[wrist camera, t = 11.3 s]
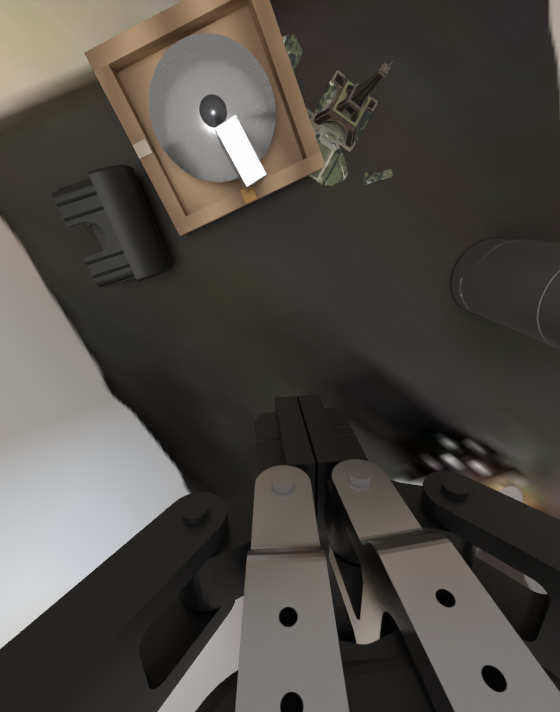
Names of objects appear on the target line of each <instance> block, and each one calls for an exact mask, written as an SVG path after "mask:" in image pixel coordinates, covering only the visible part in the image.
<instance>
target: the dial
mask: <svg viewBox="0 0 560 712" xmlns="http://www.w3.org/2000/svg"><path fill="white" fill-rule="evenodd" d="M149 111H150V117H151V122H152V125H153V129H154V132H155V134H156V136H157V139H158V141H159V143H160V144H161V146H162V148H163V149H164V151H165V152H166V154H167V155H168V156H169V157H170V158H171V160H172V161H173V162H174V163H175V164H177V165H178V166H179V167H180V168H181V169H183V170H184V171H185V172H187V173H188V174H190V175H191V176H193V177H195V178H197V179H200V180H202V181H205V182H210V183H229V182H233V181H236V180H240V182H241V184H242V185H243V187H244V189H245V191H246V192H248V191H249V190H251V189H253V188H254V187H256V186H257V185H259V184H260V183H262V182H263V180H264V178H265V176H266V172H265V170H264V168H263V167H262V165H261V163H260V162H261V161H262V160H263V158H264V156H265V155H266V153H267V151H268V148H269V146H270V143H271V140H272V137H273V133H274V128H275V119H276V109H275V100H274V94H273V91H272V87H271V84H270V82H269V79H268V77H267V75H266V73H265V71H264V69H263V67H262V66H261V65H260V63H259V62H258V60H257V59H256V58H255V57H254V56H253V55H252V53H251V52H250V51H248V50H247V49H246V48H245V47H244V46H243V45H241V44H239V43H238V42H236V41H235V40H233V39H231V38H228V37H226V36H223V35H219V34H213V33H199V34H194V35H190V36H188V37H185V38H183V39H181V40H180V41H178V42H176V43H175V44H174V45H172V46H171V47H170V48H169V49H168V50H167V51H166V52H165V54H164V55H163V56H162V58H161V59H160V61H159V62H158V64H157V66H156V68H155V71H154V73H153V76H152V80H151V84H150V90H149Z"/></svg>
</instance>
